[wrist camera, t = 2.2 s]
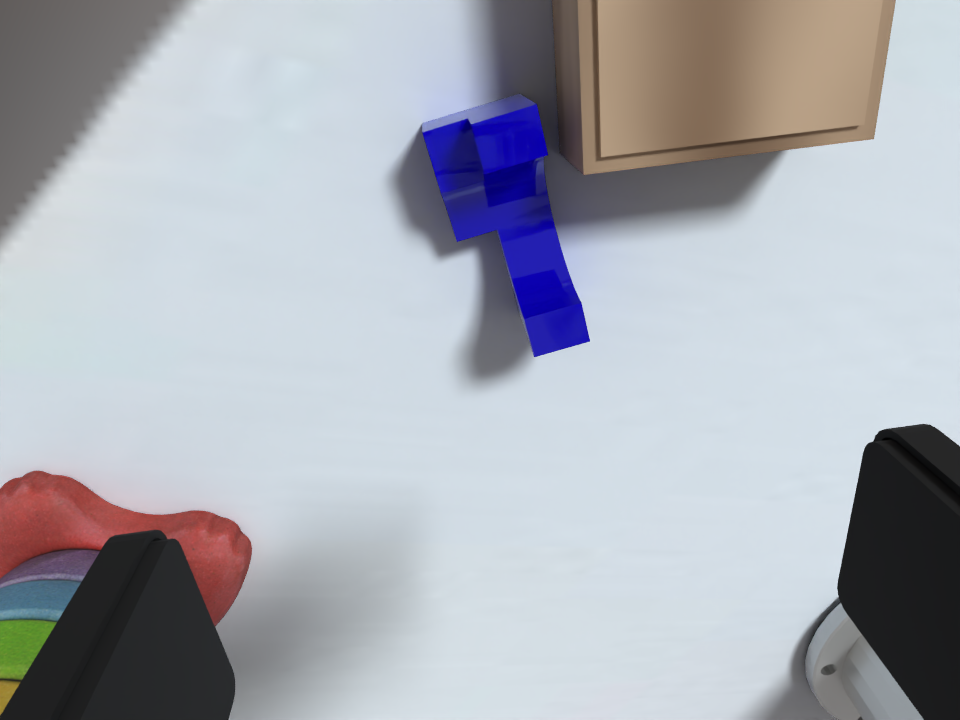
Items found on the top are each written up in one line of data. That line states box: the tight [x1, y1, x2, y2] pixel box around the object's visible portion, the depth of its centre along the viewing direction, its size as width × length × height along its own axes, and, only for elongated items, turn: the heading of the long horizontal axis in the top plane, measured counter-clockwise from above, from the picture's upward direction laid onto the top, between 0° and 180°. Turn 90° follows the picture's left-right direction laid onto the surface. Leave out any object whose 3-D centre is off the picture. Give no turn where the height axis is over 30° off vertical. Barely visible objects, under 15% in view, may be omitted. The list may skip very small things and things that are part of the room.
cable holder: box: [422, 93, 590, 357], centre depth 23 cm, size 8×4×4 cm, turn 16°
